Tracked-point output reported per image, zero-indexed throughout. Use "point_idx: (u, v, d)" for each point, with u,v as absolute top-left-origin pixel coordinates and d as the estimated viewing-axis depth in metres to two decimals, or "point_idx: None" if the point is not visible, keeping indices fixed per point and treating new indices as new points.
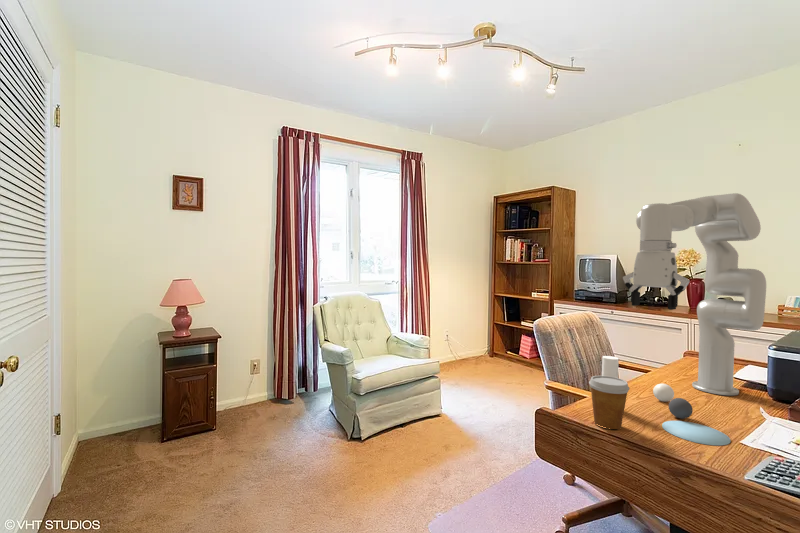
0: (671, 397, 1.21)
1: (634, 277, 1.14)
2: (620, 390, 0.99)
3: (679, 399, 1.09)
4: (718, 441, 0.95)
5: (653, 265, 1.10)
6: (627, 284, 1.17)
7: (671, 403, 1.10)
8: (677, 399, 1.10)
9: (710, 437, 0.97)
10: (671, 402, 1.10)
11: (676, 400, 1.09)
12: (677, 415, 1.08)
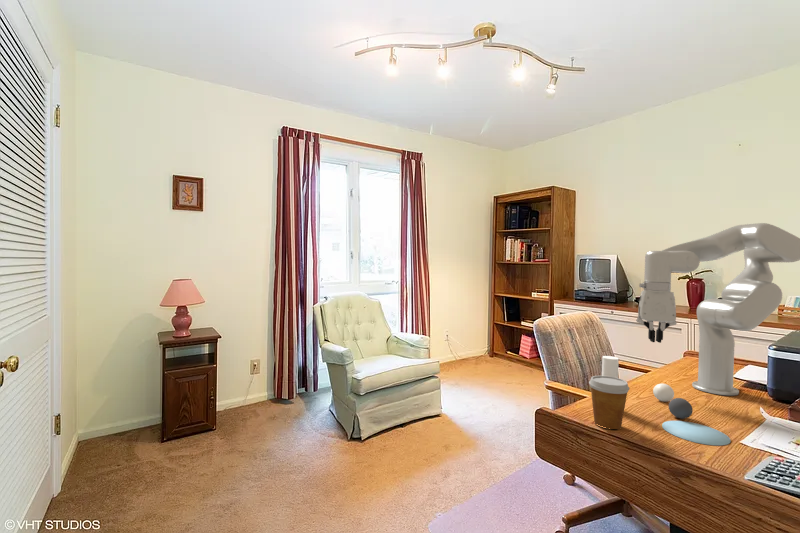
0: (671, 397, 1.21)
1: None
2: (620, 390, 0.99)
3: (679, 399, 1.09)
4: (718, 441, 0.95)
5: None
6: None
7: (671, 403, 1.10)
8: (677, 399, 1.10)
9: (710, 437, 0.97)
10: (671, 402, 1.10)
11: (676, 400, 1.09)
12: (677, 415, 1.08)
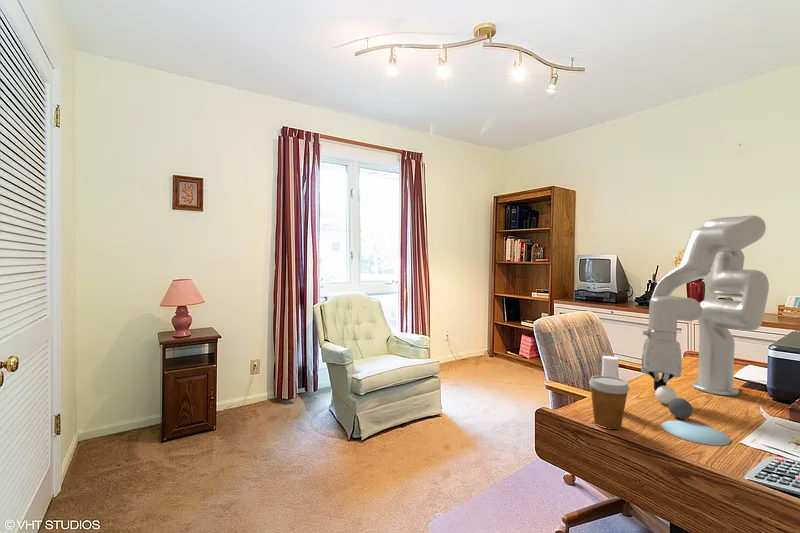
0: None
1: None
2: (620, 390, 0.99)
3: (679, 399, 1.09)
4: (718, 441, 0.95)
5: None
6: None
7: (671, 403, 1.10)
8: (677, 399, 1.10)
9: (710, 437, 0.97)
10: (671, 402, 1.10)
11: (676, 400, 1.09)
12: (677, 415, 1.08)
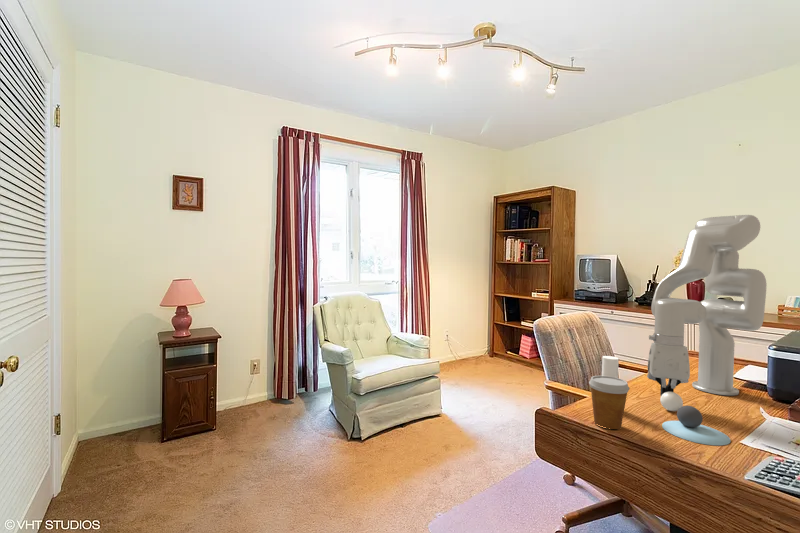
0: None
1: None
2: (620, 390, 0.99)
3: (689, 426, 1.02)
4: (718, 441, 0.95)
5: None
6: None
7: (679, 420, 1.04)
8: (687, 425, 1.02)
9: (710, 437, 0.97)
10: (680, 420, 1.04)
11: (685, 425, 1.03)
12: None
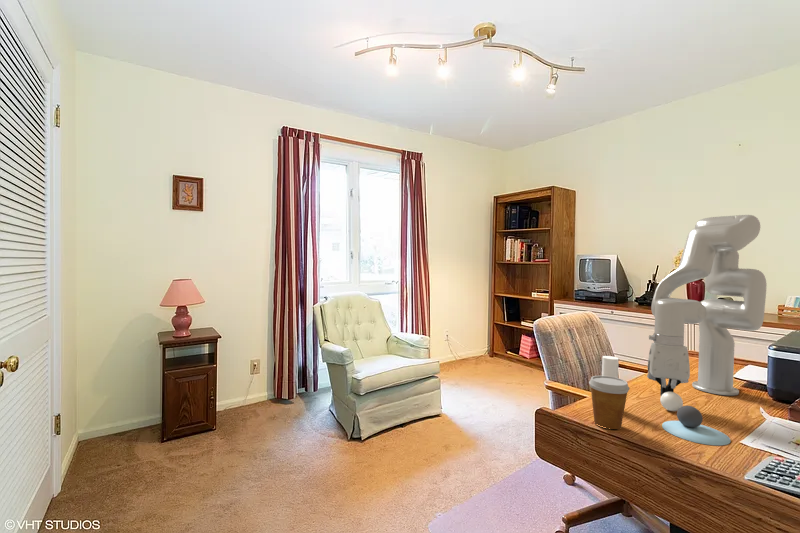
0: None
1: None
2: (620, 390, 0.99)
3: (689, 426, 1.02)
4: (718, 441, 0.95)
5: None
6: None
7: (679, 420, 1.04)
8: (687, 425, 1.02)
9: (710, 437, 0.97)
10: (680, 420, 1.04)
11: (685, 425, 1.03)
12: None
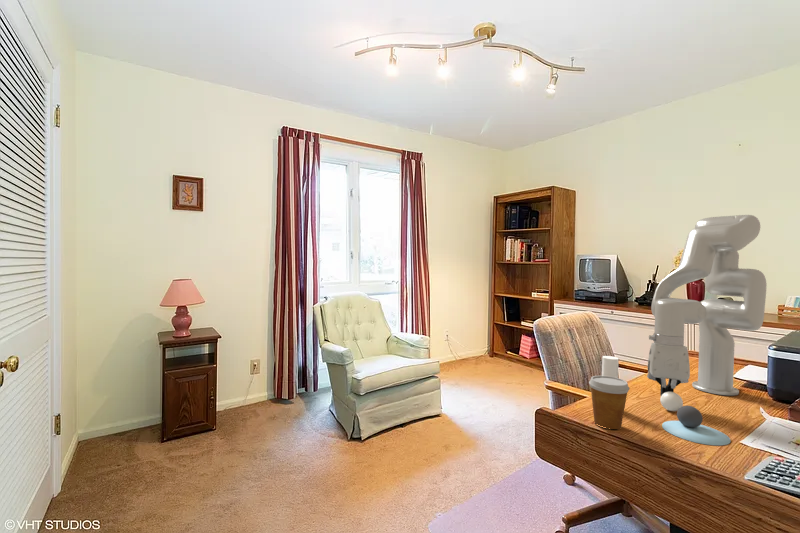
0: None
1: None
2: (620, 390, 0.99)
3: (689, 426, 1.02)
4: (718, 441, 0.95)
5: None
6: None
7: (679, 420, 1.04)
8: (687, 425, 1.02)
9: (710, 437, 0.97)
10: (680, 420, 1.04)
11: (685, 425, 1.03)
12: None
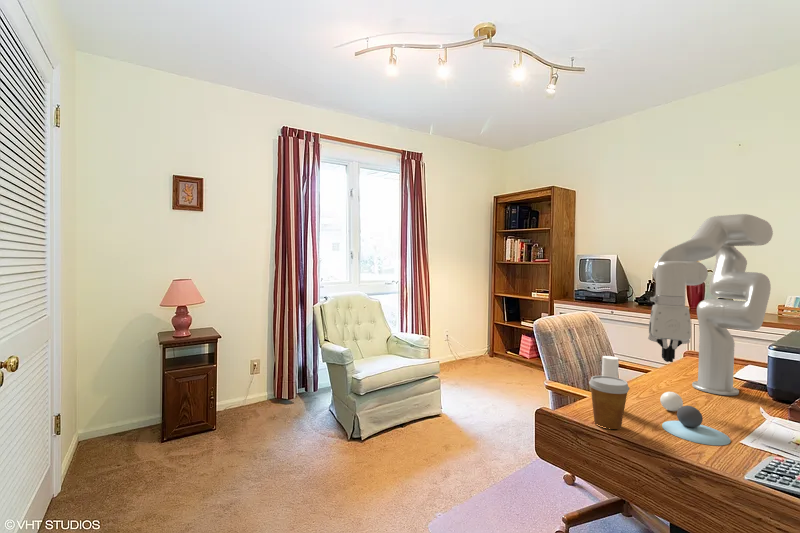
0: None
1: None
2: (620, 390, 0.99)
3: (689, 426, 1.02)
4: (718, 441, 0.95)
5: None
6: None
7: (679, 420, 1.04)
8: (687, 425, 1.02)
9: (710, 437, 0.97)
10: (680, 420, 1.04)
11: (685, 425, 1.03)
12: None
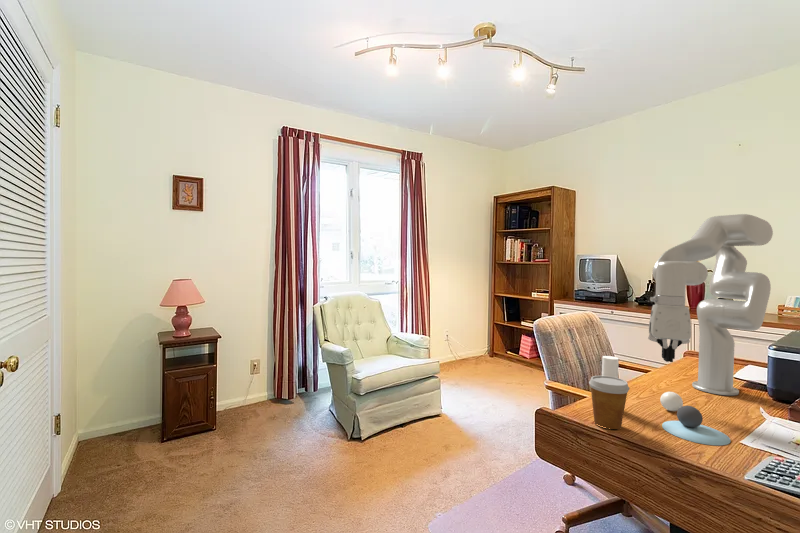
0: None
1: None
2: (620, 390, 0.99)
3: (689, 426, 1.02)
4: (718, 441, 0.95)
5: None
6: None
7: (679, 420, 1.04)
8: (687, 425, 1.02)
9: (710, 437, 0.97)
10: (680, 420, 1.04)
11: (685, 425, 1.03)
12: None
